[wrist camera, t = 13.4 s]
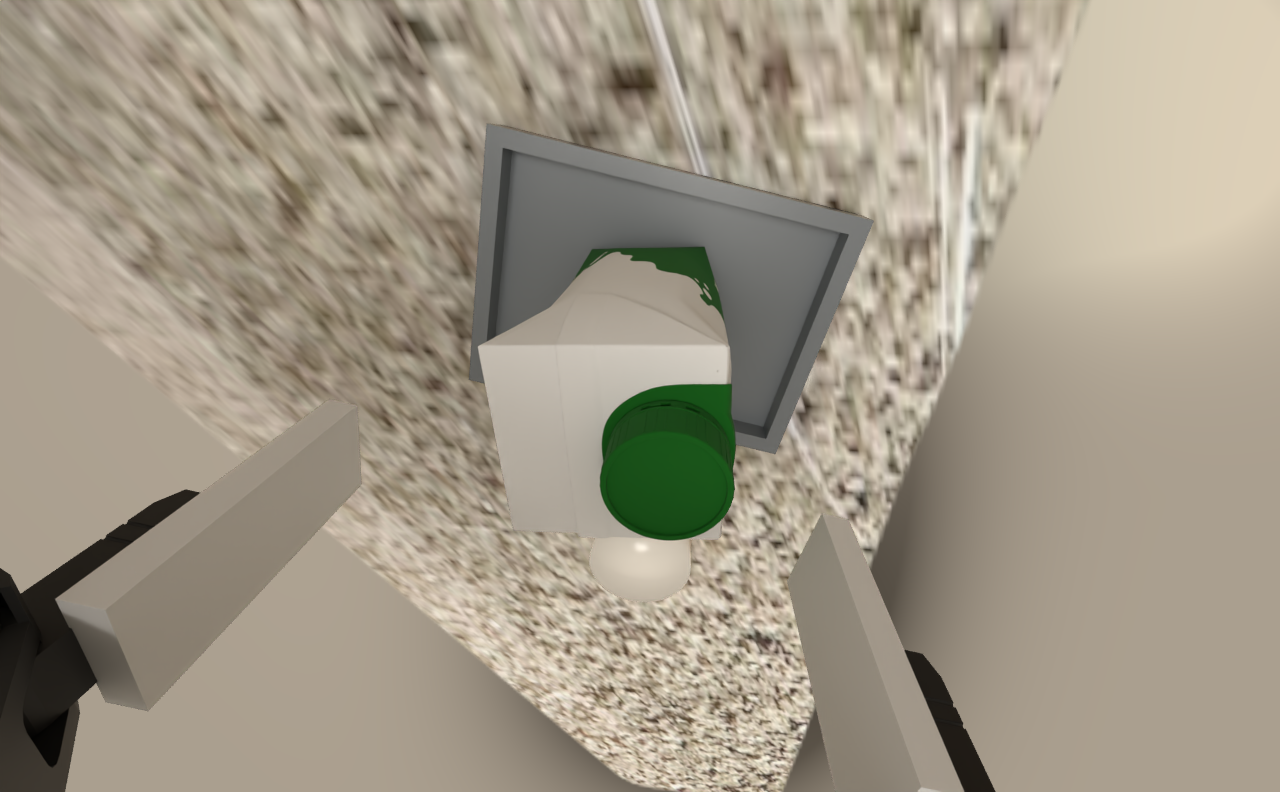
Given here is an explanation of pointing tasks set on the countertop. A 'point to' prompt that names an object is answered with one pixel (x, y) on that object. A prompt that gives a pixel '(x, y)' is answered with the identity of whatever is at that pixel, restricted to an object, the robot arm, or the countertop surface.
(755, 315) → the tray
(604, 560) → the cream glossy pebble
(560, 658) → the countertop surface
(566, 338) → the soya milk
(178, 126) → the countertop surface
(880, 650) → the robot arm
